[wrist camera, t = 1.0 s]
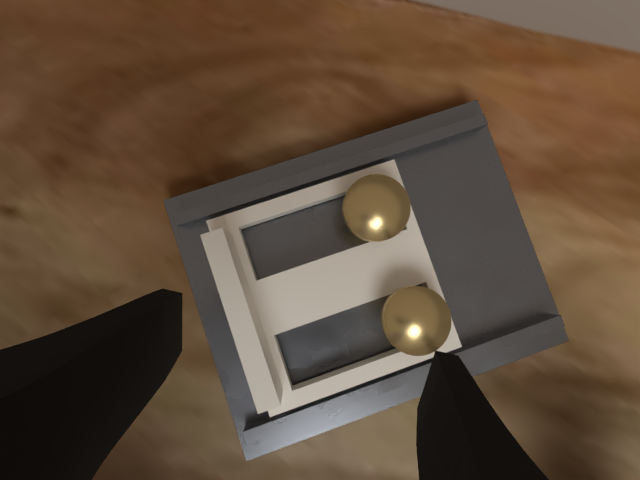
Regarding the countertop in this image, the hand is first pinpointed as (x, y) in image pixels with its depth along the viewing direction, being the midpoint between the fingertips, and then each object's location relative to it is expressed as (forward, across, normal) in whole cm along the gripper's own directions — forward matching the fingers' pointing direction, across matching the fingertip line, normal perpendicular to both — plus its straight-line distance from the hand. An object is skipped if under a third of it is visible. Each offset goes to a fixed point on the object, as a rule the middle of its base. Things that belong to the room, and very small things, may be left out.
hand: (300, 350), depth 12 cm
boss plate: (+12, -1, +3) cm, 12 cm away
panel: (+10, 0, +3) cm, 10 cm away
